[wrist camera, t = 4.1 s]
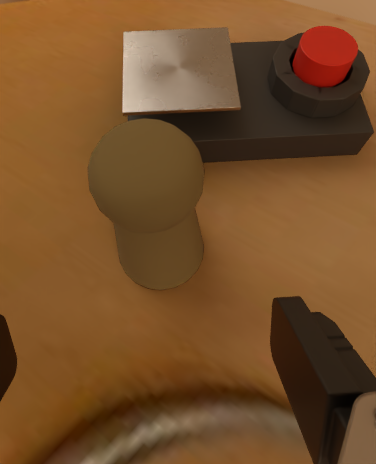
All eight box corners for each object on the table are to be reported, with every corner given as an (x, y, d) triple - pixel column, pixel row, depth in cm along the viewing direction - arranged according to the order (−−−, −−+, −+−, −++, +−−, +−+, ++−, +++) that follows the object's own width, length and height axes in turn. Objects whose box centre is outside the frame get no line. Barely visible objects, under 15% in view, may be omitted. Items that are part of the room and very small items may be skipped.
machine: (133, 166, 26) (122, 127, 22) (132, 74, 30) (124, 26, 26) (357, 154, 27) (388, 114, 23) (328, 65, 31) (350, 17, 27)
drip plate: (123, 116, 23) (122, 112, 22) (124, 35, 26) (123, 31, 26) (240, 110, 23) (241, 106, 23) (227, 30, 26) (227, 27, 26)
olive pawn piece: (151, 308, 22) (121, 250, 12) (102, 241, 24) (40, 142, 14) (221, 254, 24) (247, 162, 13) (169, 195, 25) (158, 75, 15)
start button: (297, 89, 24) (306, 66, 22) (287, 50, 26) (295, 26, 24) (352, 87, 24) (365, 64, 23) (338, 48, 26) (350, 24, 24)
